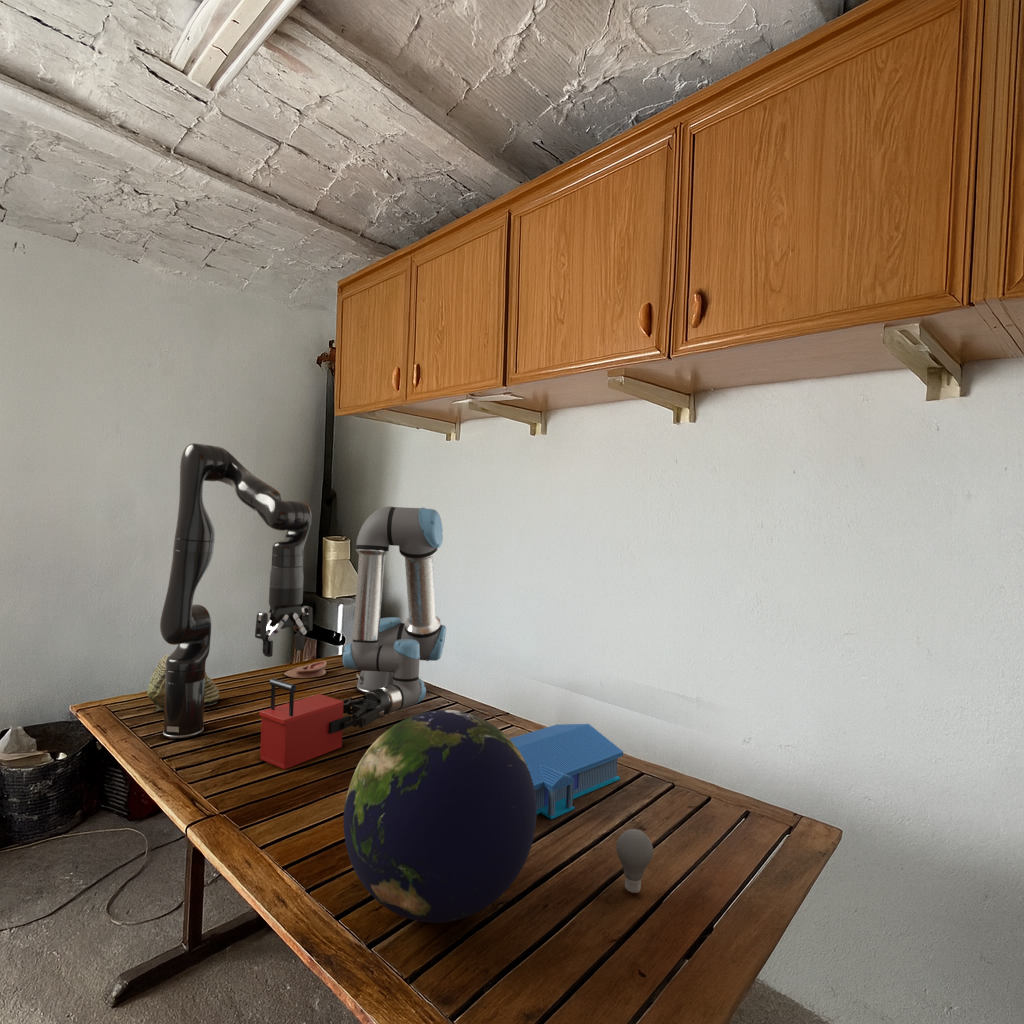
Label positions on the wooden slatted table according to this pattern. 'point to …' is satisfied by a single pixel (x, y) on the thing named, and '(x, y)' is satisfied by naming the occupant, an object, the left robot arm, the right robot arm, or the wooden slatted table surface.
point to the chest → (299, 738)
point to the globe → (440, 816)
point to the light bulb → (634, 857)
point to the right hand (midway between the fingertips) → (316, 723)
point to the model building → (567, 764)
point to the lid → (297, 705)
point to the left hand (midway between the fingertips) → (283, 653)
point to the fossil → (158, 687)
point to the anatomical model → (308, 670)
